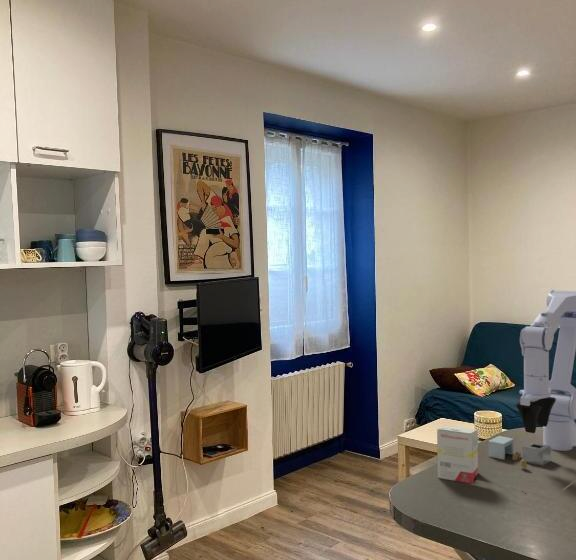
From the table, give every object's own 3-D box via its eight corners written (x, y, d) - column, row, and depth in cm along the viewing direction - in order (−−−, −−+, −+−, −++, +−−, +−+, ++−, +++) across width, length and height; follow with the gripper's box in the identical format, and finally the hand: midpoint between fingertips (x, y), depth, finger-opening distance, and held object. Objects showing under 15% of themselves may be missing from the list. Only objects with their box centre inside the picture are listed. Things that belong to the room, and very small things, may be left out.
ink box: (479, 478, 144) (479, 428, 144) (473, 484, 140) (472, 433, 140) (443, 471, 149) (443, 423, 149) (436, 477, 145) (436, 428, 145)
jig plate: (500, 453, 162) (500, 440, 162) (552, 464, 153) (552, 450, 153) (475, 466, 152) (475, 452, 152) (529, 479, 143) (529, 464, 143)
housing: (498, 450, 160) (498, 435, 160) (513, 454, 158) (513, 438, 158) (488, 456, 156) (488, 440, 156) (503, 459, 153) (503, 443, 153)
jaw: (530, 457, 156) (530, 442, 156) (550, 461, 152) (550, 445, 152) (522, 462, 152) (522, 446, 152) (542, 466, 149) (542, 450, 148)
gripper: (531, 368, 159) (531, 420, 160) (508, 377, 149) (508, 432, 149) (559, 372, 155) (559, 425, 155) (537, 380, 144) (537, 437, 144)
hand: (536, 429), depth 152 cm, fingers open, 7 cm apart
